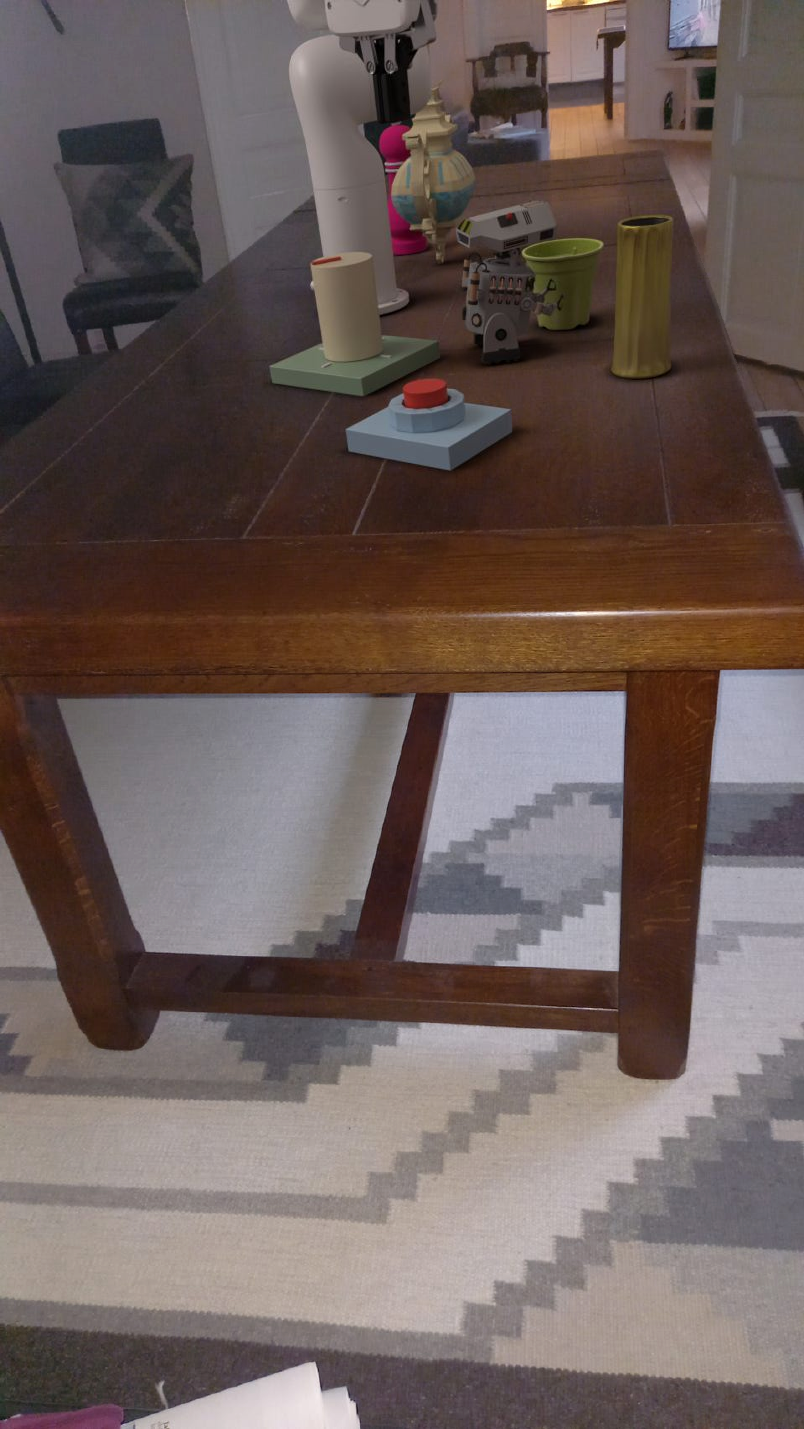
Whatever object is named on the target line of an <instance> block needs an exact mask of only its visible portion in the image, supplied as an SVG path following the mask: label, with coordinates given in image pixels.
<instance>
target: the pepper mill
mask: <svg viewBox="0 0 804 1429" xmlns="http://www.w3.org/2000/svg"><path fill="white" fill-rule="evenodd" d="M401 123H402V121H400V122H397V123H393V124H391V126H389V127H387V128H385V129H384V130H383V131H382V133H381V135H380V137H379V142H378V143H379V151H380V153H381V155H382V156H383V158H384V159H385V160H386V161H385V162H384V166H385V168H384V172H386V173H387V175H388V180H389V192H388V195H389V196H388V198H387V203H388V212H389V221H390V230H391V240H392V249H393V256H394V255H395V256H405V255H413V254H419V253H422V252H424V251H426V250H427V249H428V241H427V236H426V235H423V234H424V233H423V232H421V231H411V230H410V227H411V225H410V223H408V222H407V221H405V220H404V219H403V218H402V217H401V216H400V215H399V214H398V212H397V211H396V209H395V207H394V205H393V203H392V198H391V191H392V184H393V181H394V179H395V176H396V174H397V171H398V170H399V168H400V167H401V166H402V165H403V164H404V162H405V161H406V160H407V159H408V158H409V157H410V156H411V154H410V153H411V150H406V141H405V140H403V139H402V135H403V134H405V133H406V132H408V131H410V130H411V128H412V127H410V126H407V125H405V124H401Z"/></svg>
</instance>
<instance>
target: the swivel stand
mask: <svg viewBox="0 0 804 1429" xmlns="http://www.w3.org/2000/svg"><path fill="white" fill-rule="evenodd" d="M382 342H383V351H382V352H381V353H379V354H378V355H376V356H373V357H371V358H367V359H363V360H358V361H350V362H336V361H330V360H328V359H326V358H325V355H324V348H323V342H321V343H319V344H317V345H314V346H312V347H309V348H307V349H305V350H302V351H300V352H299V353H296V354H293V355H292V356H289V357H287V358H285V359H282V360H280V361H278V362H275V363H273V364H271V365H269V372H270V378H271V382H272V384H276V385H282V386H289V387H296V388H302V389H310V390H315V391H322V392H331V393H339V394H345V395H351V396H359V397H366V396H367V395H369V394H372V393H373V392H376V391H377V390H380V389H382V388H384V387H385V386H387V385H389V384H391V383H393V382H396V381H397V380H399V379H401V378H404V377H405V376H407V375H409V374H411V373H414V372H415V371H417V370H419V369H420V368H423V367H424V366H427V365H428V364H431V363H433V362H435V361H437V360H439V359H440V358H441V354H440V353H441V352H440V341H439V340H435V339H433V340H432V339H424V338H415V337H407V336H405V337H404V336H397V335H396V336H394V335H385V334H382Z"/></svg>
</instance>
